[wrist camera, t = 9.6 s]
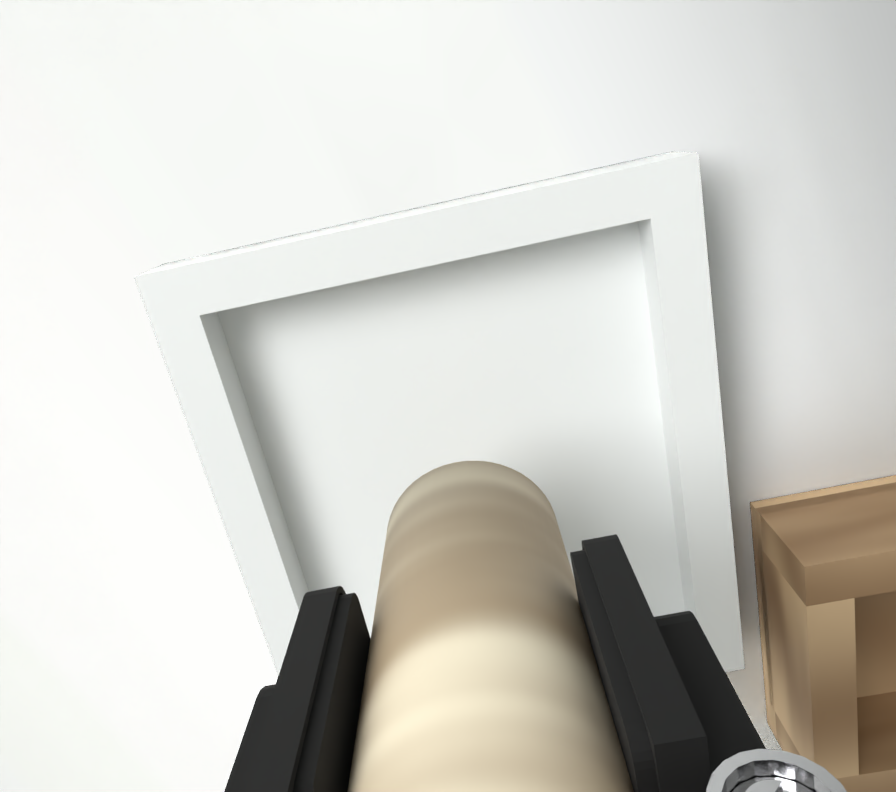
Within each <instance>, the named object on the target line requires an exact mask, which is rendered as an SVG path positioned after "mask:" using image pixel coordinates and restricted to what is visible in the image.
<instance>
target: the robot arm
mask: <svg viewBox="0 0 896 792" xmlns="http://www.w3.org/2000/svg"><path fill="white" fill-rule="evenodd" d="M570 556H571V563H572V568H573V574H574V579H575V585H576V590H577V596H578V601H579V605H580V609H581V612H582V615H583V619H584V622H585V626H586V629H587V633H588V636H589V639H590V643H591V646H592V650H593V653H594V656H595V660H596V663H597V667H598V670H599V674H600V677H601V680H602V684H603V687H604V691H605V694H606V697H607V701H608V704H609V708H610V711H611V714H612V718H613V721H614V725H615V728H616V732H617V735H618V738H619V742H620V745H621V749H622V752H623V755H624V759H625V762H626V766H627V769H628V773H629V776H630V779H631V783H632V786H633V790H634V792H847V791H846V790H845V788H844V787H843V785H842V784H841V782H839V781H838V780H837V779H836V778H835V777H834V776H833V775H832V774H830V773H829V772H828V771H827V770H826V769H825V768H824V767H822V766H820V765H818V764H816V763H814V762H813V761H811V760H809V759H807V758H805V757H803V756H800V755H797V754H793V753H790V752H786V751H783V750H774V749H766V748H765V746H764V745H763V743H762V741H761V739H760V737H759V735H758V733H757V731H756V729H755V728H754V726H753V724H752V722H751V720H750V718H749V716H748V714H747V713H746V711H745V709H744V707H743V705H742V703H741V701H740V699H739V698H738V696H737V694H736V692H735V690H734V688H733V686H732V684H731V683H730V681H729V679H728V677H727V675H726V673H725V671H724V669H723V668H722V666H721V664H720V662H719V660H718V658H717V656H716V654H715V652H714V651H713V649H712V647H711V645H710V643H709V641H708V639H707V637H706V636H705V634H704V632H703V630H702V628H701V626H700V624H699V622H698V621H697V619H696V617H695V616H694V614H693V613H692V612H691V611H684V612H678V613H673V614H667V615H662V616H656V617H654V616H653V614H652V612H651V610H650V607H649V605H648V603H647V601H646V598H645V596H644V594H643V591H642V589H641V587H640V585H639V582H638V580H637V578H636V576H635V573H634V571H633V569H632V567H631V564H630V562H629V560H628V558H627V555H626V553H625V551H624V549H623V546H622V544H621V542H620V540H619V538H618V536H617V535H616V534H614V535H609V536H604V537H598V538H593V539H588V540H582V550H580V551H575V552H570ZM369 646H370V635H369V632H368V629H367V625H366V622H365V619H364V615H363V612H362V609H361V605H360V602H359V599H358V596H357V595H356V593H349V594H346V593H345V591H344V589H343V587H341V586H336V587H331V588H326V589H320V590H315V591H310V592H307V593H305V595H304V597H303V600H302V603H301V606H300V610H299V613H298V616H297V619H296V622H295V625H294V629H293V632H292V635H291V638H290V641H289V644H288V648H287V651H286V654H285V657H284V660H283V664H282V667H281V670H280V673H279V676H278V679H277V683H276V684H275V685H270V686H265V687H264V688H262V689H261V690H260V692H259V694H258V696H257V698H256V701H255V704H254V707H253V710H252V713H251V716H250V719H249V722H248V725H247V727H246V730H245V733H244V736H243V739H242V742H241V745H240V748H239V751H238V754H237V757H236V760H235V763H234V765H233V768H232V771H231V774H230V777H229V780H228V783H227V786H226V789H225V792H347V791H348V784H349V778H350V771H351V765H352V758H353V752H354V745H355V738H356V732H357V725H358V719H359V712H360V705H361V699H362V692H363V686H364V679H365V672H366V666H367V659H368V653H369Z"/></svg>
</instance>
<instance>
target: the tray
mask: <svg viewBox="0 0 896 792" xmlns="http://www.w3.org/2000/svg"><path fill="white" fill-rule="evenodd" d="M134 279H135V281H136V284H137V287H138V290H139V293H140V295H141V298H142V301H143V304H144V306H145V309H146V312H147V315H148V317H149V320H150V323H151V326H152V328H153V331H154V334H155V337H156V339H157V342H158V345H159V348H160V350H161V353H162V356H163V359H164V361H165V364H166V367H167V370H168V373H169V375H170V378H171V381H172V384H173V386H174V389H175V392H176V395H177V397H178V400H179V403H180V406H181V408H182V411H183V414H184V417H185V419H186V422H187V425H188V428H189V430H190V433H191V436H192V439H193V441H194V444H195V447H196V450H197V453H198V455H199V458H200V461H201V464H202V466H203V469H204V472H205V475H206V477H207V480H208V483H209V486H210V488H211V491H212V494H213V497H214V499H215V502H216V505H217V508H218V510H219V513H220V516H221V519H222V521H223V524H224V527H225V530H226V533H227V535H228V538H229V541H230V544H231V546H232V549H233V552H234V555H235V557H236V560H237V563H238V566H239V568H240V571H241V574H242V577H243V579H244V582H245V585H246V588H247V590H248V593H249V596H250V599H251V601H252V604H253V607H254V610H255V613H256V615H257V618H258V621H259V624H260V626H261V629H262V632H263V635H264V637H265V640H266V643H267V646H268V648H269V651H270V654H271V657H272V659H273V662H274V665H275V668H276V670H277V673H278V676H279V673H280V670H281V667H282V664H283V660H284V657H285V654H286V651H287V648H288V644H289V641H290V638H291V635H292V632H293V629H294V625H295V622H296V619H297V616H298V613H299V610H300V606H301V603H302V600H303V597H304V595H305V593H307V592H310V591H315V590H320V589H326V588H331V587H336V586H341V587H343V589H344V591H345V593H346V594H349V593H356V595H357V596H358V599H359V602H360V605H361V609H362V612H363V615H364V619H365V622H366V625H367V629H368V632H369V635H370V639H371V633H372V626H373V620H374V613H375V607H376V600H377V593H378V587H379V580H380V574H381V567H382V560H383V554H384V547H385V541H386V534H387V527H388V523H389V519H390V515H391V513H392V510H393V508H394V506H395V504H396V502H397V501H398V499H399V497H400V496H401V495H402V494H403V492H404V491H405V490H406V489H407V488H408V487H409V486H410V485H411V484H412V483H413V482H414V481H415V480H417V479H418V478H420V477H421V476H422V475H424V474H426V473H428V472H429V471H431V470H433V469H436V468H438V467H441V466H443V465H447V464H451V463H454V462H461V461H486V462H492V463H497V464H501V465H504V466H506V467H509V468H512V469H514V470H516V471H518V472H520V473H522V474H523V475H524V476H526V477H527V478H529V479H530V480H531V481H532V482H534V483H535V484H536V485H537V486H538V487H539V488H540V489H541V491H542V492H543V493H544V494H545V496H546V497H547V499H548V500H549V502H550V504H551V506H552V508H553V511H554V513H555V516H556V520H557V523H558V526H559V530H560V533H561V536H562V540H563V543H564V546H565V550H566V553H567V556H568V560H569V563H570V566H571V570H572V573H573V568H572V563H571V556H570V552H575V551H580V550H582V540H588V539H593V538H598V537H604V536H609V535H614V534H616V535H617V536H618V538H619V540H620V542H621V544H622V546H623V549H624V551H625V553H626V555H627V558H628V560H629V562H630V564H631V567H632V569H633V571H634V573H635V576H636V578H637V580H638V582H639V585H640V587H641V589H642V591H643V594H644V596H645V598H646V601H647V603H648V605H649V607H650V610H651V612H652V614H653V616H654V617H656V616H662V615H667V614H673V613H678V612H684V611H691V612H692V613H693V614H694V616H695V617H696V619H697V621H698V622H699V624H700V626H701V628H702V630H703V632H704V634H705V636H706V637H707V639H708V641H709V643H710V645H711V647H712V649H713V651H714V652H715V654H716V656H717V658H718V660H719V662H720V664H721V666H722V668H723V669H724V671H725V672H730V671H736V670H742V669H745V664H744V653H743V642H742V631H741V619H740V608H739V597H738V586H737V575H736V564H735V553H734V542H733V530H732V519H731V508H730V497H729V486H728V475H727V464H726V453H725V442H724V430H723V419H722V408H721V397H720V386H719V375H718V364H717V353H716V342H715V330H714V319H713V308H712V297H711V286H710V275H709V264H708V253H707V242H706V230H705V219H704V208H703V197H702V186H701V175H700V164H699V153H698V152H673V151H672V152H668V153H663V154H659V155H654V156H650V157H645V158H641V159H636V160H632V161H627V162H623V163H618V164H614V165H609V166H604V167H600V168H595V169H591V170H586V171H582V172H577V173H573V174H568V175H564V176H559V177H555V178H550V179H546V180H541V181H537V182H532V183H528V184H523V185H518V186H514V187H509V188H505V189H500V190H496V191H491V192H487V193H482V194H478V195H473V196H469V197H464V198H460V199H455V200H451V201H446V202H441V203H437V204H432V205H428V206H423V207H419V208H414V209H410V210H405V211H401V212H396V213H392V214H387V215H383V216H378V217H374V218H369V219H364V220H360V221H355V222H351V223H346V224H342V225H337V226H333V227H328V228H324V229H319V230H315V231H310V232H306V233H301V234H297V235H292V236H288V237H283V238H278V239H274V240H269V241H265V242H260V243H256V244H251V245H247V246H242V247H238V248H233V249H229V250H224V251H220V252H215V253H211V254H206V255H201V256H197V257H192V258H188V259H183V260H179V261H174V262H170V263H165V264H163V265H160V266H158V267H156V268H153V269H151V270H149V271H146V272H144V273H142V274H139V275H137V276H135V277H134ZM573 576H574V574H573ZM574 580H575V579H574Z"/></svg>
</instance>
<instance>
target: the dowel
mask: <svg viewBox="0 0 896 792" xmlns="http://www.w3.org/2000/svg"><path fill="white" fill-rule="evenodd" d="M347 792H634V790H633V786H632V783H631V779H630V776H629V773H628V769H627V766H626V762H625V759H624V755H623V752H622V749H621V745H620V742H619V738H618V735H617V732H616V728H615V725H614V721H613V718H612V714H611V711H610V708H609V704H608V701H607V697H606V694H605V691H604V687H603V684H602V680H601V677H600V674H599V670H598V667H597V663H596V660H595V656H594V653H593V650H592V646H591V643H590V639H589V636H588V633H587V629H586V626H585V622H584V619H583V615H582V612H581V609H580V605H579V601H578V596H577V590H576V585H575V580H574V576H573V573H572V570H571V566H570V563H569V560H568V556H567V553H566V550H565V546H564V543H563V540H562V536H561V533H560V530H559V526H558V523H557V520H556V516H555V513H554V511H553V508H552V506H551V504H550V502H549V500H548V499H547V497H546V496H545V494H544V493H543V492H542V491H541V489H540V488H539V487H538V486H537V485H536V484H535V483H534V482H532V481H531V480H530V479H529V478H527V477H526V476H524V475H523V474H522V473H520V472H518V471H516V470H514V469H512V468H509V467H506V466H504V465H501V464H497V463H492V462H486V461H461V462H454V463H451V464H447V465H443V466H441V467H438V468H436V469H433V470H431V471H429V472H428V473H426V474H424V475H422V476H421V477H420V478H418V479H417V480H415V481H414V482H413V483H412V484H411V485H410V486H409V487H408V488H407V489H406V490H405V491H404V492H403V494H402V495H401V496H400V497H399V499H398V501H397V502H396V504H395V506H394V508H393V510H392V513H391V515H390V519H389V523H388V527H387V534H386V541H385V547H384V554H383V560H382V567H381V574H380V580H379V587H378V593H377V600H376V607H375V613H374V620H373V626H372V633H371V639H370V646H369V653H368V659H367V666H366V672H365V679H364V686H363V692H362V699H361V705H360V712H359V719H358V725H357V732H356V738H355V745H354V752H353V758H352V765H351V771H350V778H349V784H348V791H347Z"/></svg>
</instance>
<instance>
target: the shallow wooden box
mask: <svg viewBox="0 0 896 792" xmlns="http://www.w3.org/2000/svg"><path fill="white" fill-rule="evenodd" d="M750 509H751V521H752V534H753V547H754V559H755V572H756V584H757V597H758V610H759V622H760V635H761V647H762V660H763V673H764V685H765V698H766V710H767V723H768V725H769V727H770V728H771V730H772V732H773V734H774V736H775V738H776V739H777V741H778V743H779V745H780V747H781V748H782V750H783V751H786V752H790V753H793V754H797V755H800V756H803V757H805V758H807V759H809V760H811V761H813V762H814V763H816V764H818V765H820V766H822V767H824V768H825V769H826V770H827V771H828V772H829V773H830V774H832V775H833V776H834V777H835V778H836V779H837V780H838V781H839V782H841V784H842V785H843V787H844V788H845V790H846V791H847V792H896V475H894V476H889V477H884V478H878V479H873V480H867V481H862V482H857V483H851V484H846V485H841V486H835V487H830V488H824V489H819V490H814V491H808V492H803V493H798V494H792V495H787V496H782V497H776V498H771V499H765V500H760V501H755V502H750Z"/></svg>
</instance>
